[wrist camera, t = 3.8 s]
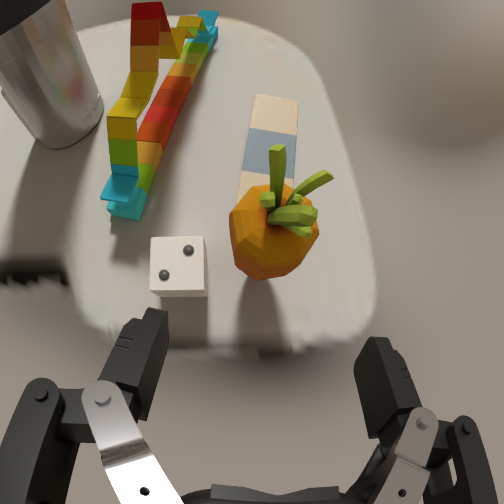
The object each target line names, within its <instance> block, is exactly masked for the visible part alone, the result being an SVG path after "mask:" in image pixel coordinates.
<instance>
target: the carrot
mask: <svg viewBox="0 0 504 504" xmlns="http://www.w3.org/2000/svg"><path fill="white" fill-rule="evenodd" d="M269 168H270V184H269V185H260V186H252V187H251V188H250V189H249V190H248V191H247V193H246V194H245V195H244V196H243V198H242V199H241V200H240V201H239V203H238V204H237V205H236V206H235V208H234V209H233V210H232V211H231V213H230V215H229V229H230V238H231V244H232V250H233V256H234V261H235V265H236V266H237V268H239V269H240V270H241V271H243V272H244V273H245V274H247V275H248V276H250V277H251V278H253V279H254V280H256V281H258V280H264V279H269V278H275V277H281V276H285V275H287V274H288V273H290V272H291V271H293V270H294V269H295V268H296V267H298V266H299V265H300V264H301V262H302V261H303V259H304V258H305V256H306V254H307V253H308V251H309V250H310V248H311V247H312V245H313V244H314V242H315V240H316V239H317V237H318V236H319V229H318V225H317V221H316V219H317V213H318V210H317V209H316V208H314V207H313V206H312V202H311V201H310V200H309V199H307V198H306V197H304V196H305V195H307V194H308V193H310V192H312V191H313V190H315V189H316V188H318V187H320V186H322V185H324V184H325V183H327V182H329V181H331V180H332V179H334V178H333V176H332V174H331V173H329V172H327V171H325V170H322V171H320V172H318V173H316V174H314V175H312V176H311V177H309V178H308V179H306V180H305V181H304V182H303V183H301V184H300V185H299V186H298V187H297V188H296V189H295V190H294V189H292V188H291V187H289V186H288V185H286V184H285V183H284V179H285V172H286V146H285V145H282V144H276V145H273V146H272V147H271V148H270V149H269Z"/></svg>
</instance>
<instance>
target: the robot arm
mask: <svg viewBox="0 0 504 504" xmlns="http://www.w3.org/2000/svg"><path fill="white" fill-rule="evenodd" d="M0 86H1V87H2V91H1V94H2V96H3V97H4V98H5V100H6V101H7V103H8V104H9V105H10V107H11V108H12V110H13V111H14V112H15V114H16V115H17V116H18V118H19V119H20V120H21V122H22V123H23V124H24V126H25V127H26V128H27V130H28V131H29V132H30V133H31V135H32V136H33V137H34V139H39V140H40V141H41V142H42V144H43V145H44V146H46V147H47V148H51V149H60V148H64V147H67V146H70V145H72V144H74V143H76V142H77V141H79V140H80V139H82V138H83V137H84V136H86V135H87V134H88V133H89V132H90V131H91V130H92V129H93V128H94V127H95V125H96V124H97V123H98V121H99V119H100V118H101V115H102V113H103V108H104V104H103V100H102V97H101V95H100V93H99V90H98V88H97V85H96V83H95V80H94V78H93V75H92V73H91V70H90V68H89V65H88V63H87V60H86V57H85V55H84V52H83V50H82V47H81V44H80V41H79V39H78V36H77V33H76V31H75V28H74V25H73V22H72V19H71V16H70V13H69V10H68V7H67V4H66V1H65V0H0ZM168 343H169V332H168V312H167V311H165V310H160V309H155V308H150V307H148V308H147V310H146V312H145V314H144V316H143V318H142V320H141V319H136V318H133V319H131V320H130V321H129V322H128V323H127V324H125V325H124V326H123V328H122V330H121V332H120V334H119V338H117V341H116V343H115V346H114V347H113V349H112V351H111V353H110V356H109V357H108V359H107V362H106V364H105V366H104V368H103V370H102V372H101V375H100V377H99V378H98V380H97V381H95V382H92V383H90V384H89V385H87V386H86V388H83V389H60V388H58V387H57V385H56V384H55V383H54V382H53V381H51V380H50V379H47V378H37V379H34V380H33V381H31V382H30V383H29V384H28V385H27V386H26V388H25V390H24V392H23V394H22V396H21V398H20V400H19V403H18V405H17V407H16V409H15V412H14V414H13V416H12V419H11V421H10V423H9V426H8V428H7V431H6V433H5V436H4V438H3V441H2V444H1V446H0V504H65V501H66V497H67V492H68V488H69V484H70V479H71V475H72V471H73V467H74V464H75V460H76V456H77V453H78V449H79V446H80V443H97V446H98V448H99V451H100V453H101V460H102V463H103V465H104V468H105V470H106V472H107V475H108V477H109V479H110V481H111V483H112V485H113V487H114V489H115V491H116V493H117V495H118V497H119V499H120V501H121V503H122V504H418V503H419V501H420V499H421V496H422V495H423V502H424V504H498V500H497V495H496V491H495V486H494V482H493V478H492V474H491V471H490V467H489V463H488V460H487V456H486V453H485V449H484V446H483V443H482V440H481V437H480V434H479V431H478V428H477V425H476V423H475V422H474V421H473V419H471V418H470V417H468V416H459V417H458V418H457V419H456V420H455V421H453V422H447V421H441V420H438V419H437V417H436V415H435V414H434V413H433V412H432V411H431V410H429V409H427V408H424V407H422V405H421V402H420V399H419V396H418V394H417V391H416V389H415V386H414V383H413V381H412V379H411V376H410V373H409V371H408V370H407V369H408V368H407V365H406V363H405V361H404V359H403V357H402V356H401V355H400V354H399V353H398V351H396V350H393V348H392V345H391V343H390V341H389V339H388V338H386V337H369V338H368V340H367V341H366V343H365V345H364V347H363V349H362V350H361V352H360V354H359V356H358V357H357V359H356V361H355V364H354V377H355V381H356V384H357V388H358V393H359V397H360V401H361V405H362V409H363V414H364V419H365V423H366V428H367V432H368V437H369V439H374V438H379V441H380V443H379V444H378V445H377V446H376V448H375V450H374V452H373V454H372V456H371V457H370V459H369V461H368V463H367V465H366V466H365V468H364V470H363V472H362V473H361V475H360V476H359V478H358V479H357V481H356V482H355V483H354V484H353V485H352V486H351V487H350V488H349V489H348V491H347V492H346V493H345V494H344V493H340V492H339V487H338V486H333V487H319V488H308V489H304V490H300V491H297V492H293V493H289V494H284V495H272V494H268V493H264V492H260V491H257V490H253V489H249V488H246V487H237V486H225V485H217V484H212V486H211V489H206V490H200V491H195V492H192V493H188V494H186V495H184V496H181V497H180V498H179V496H178V495H177V493H176V492H175V490H174V489H173V487H172V485H171V484H170V482H169V481H168V479H167V477H166V476H165V474H164V472H163V471H162V469H161V467H160V466H159V464H158V462H157V461H156V459H155V457H154V455H153V453H152V451H151V450H150V448H149V446H148V445H147V443H146V442H145V441H144V439H143V437H142V435H141V433H140V431H139V429H138V427H137V422H138V419H140V420H143V421H147V418H148V414H149V411H150V407H151V403H152V400H153V397H154V393H155V390H156V386H157V383H158V380H159V376H160V373H161V370H162V367H163V363H164V360H165V357H166V354H167V349H168ZM452 458H453V462H454V466H455V470H456V475H457V481H456V484H455V485H454V486H453V481H452V476H451V472H450V468H449V464H448V461H449V460H450V459H452Z"/></svg>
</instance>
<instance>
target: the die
mask: <svg viewBox="0 0 504 504" xmlns="http://www.w3.org/2000/svg"><path fill="white" fill-rule="evenodd" d="M149 290H150V291H151V292H153V293H155V294H156V295H158V296H160V297H207V250H206V245H205V241H204V236H175V237H151V250H150V285H149Z"/></svg>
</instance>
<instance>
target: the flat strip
mask: <svg viewBox="0 0 504 504" xmlns="http://www.w3.org/2000/svg"><path fill="white" fill-rule="evenodd" d="M297 117H298V101H296V100H291V99H285V98H280V97H274V96H268V95H262V94H256V95H255V100H254V105H253V111H252V116H251V121H250V127H249V132H248V138H247V143H246V149H245V155H244V160H243V166H242V172H241V178H240V184H239V189H238V195H237V201H236V205H237V204H238V203H239V201H240V200H241V199H242V198H243V196H244V195H245V194H246V193H247V191H248V190H249V189H250V188H251V187H252V186H260V185H269V184H270V168H269V149H270V148H271V147H272V146H273V145H276V144H282V145H285V146H286V172H285V179H284V183H285V184H286V185H288V186H289V187H291V188H292V189H293V176H294V163H295V149H296V133H297Z"/></svg>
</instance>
